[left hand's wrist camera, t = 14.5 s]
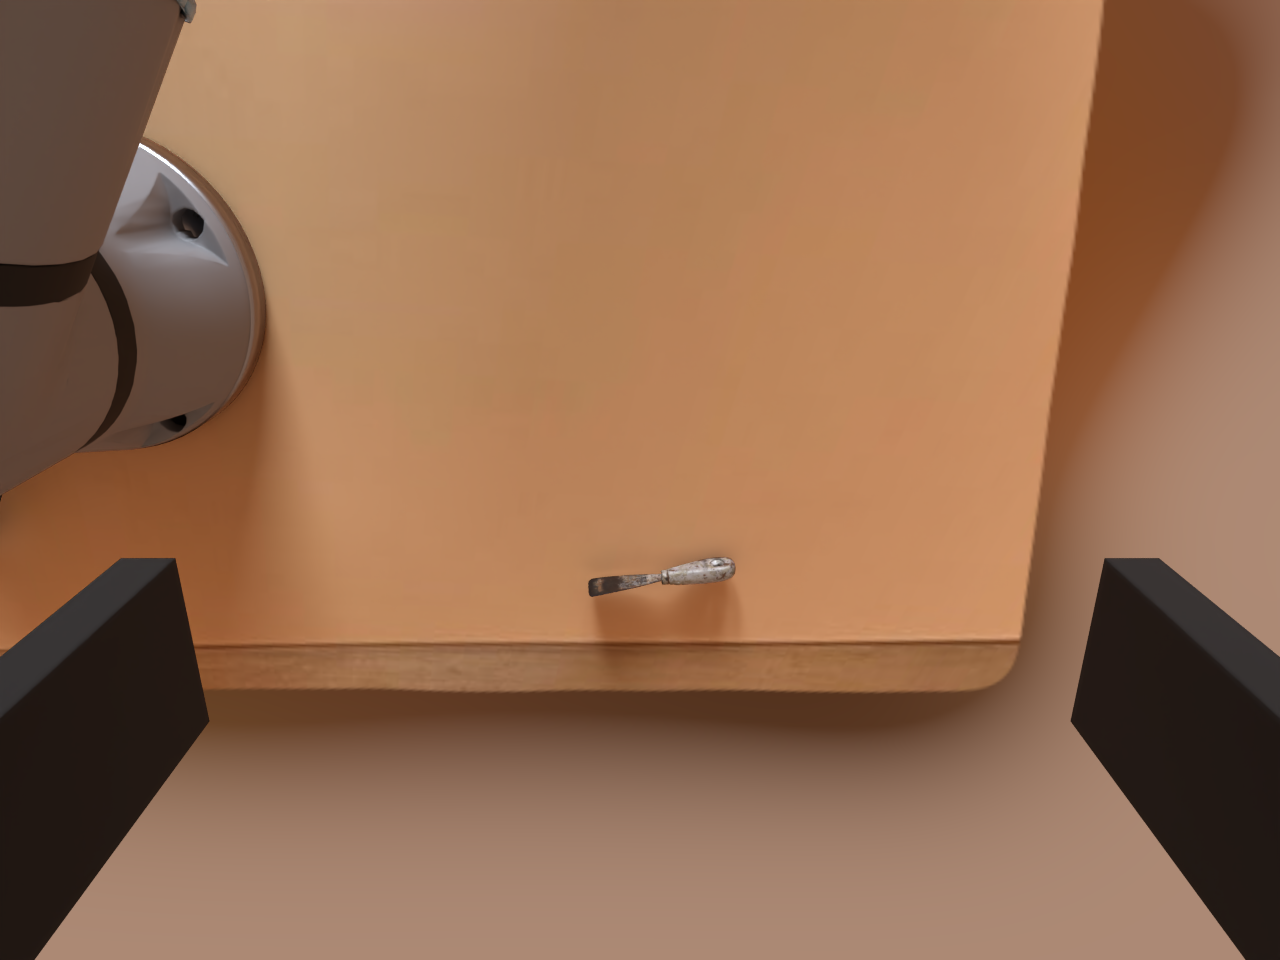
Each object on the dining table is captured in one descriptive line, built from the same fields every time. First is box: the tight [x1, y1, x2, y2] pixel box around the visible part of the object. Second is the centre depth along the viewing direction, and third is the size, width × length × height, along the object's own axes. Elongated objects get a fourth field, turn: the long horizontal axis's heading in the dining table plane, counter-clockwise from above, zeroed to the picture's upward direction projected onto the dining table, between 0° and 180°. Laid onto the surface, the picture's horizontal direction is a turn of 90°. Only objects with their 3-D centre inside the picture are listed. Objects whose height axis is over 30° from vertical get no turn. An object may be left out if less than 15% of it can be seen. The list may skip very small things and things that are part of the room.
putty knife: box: [588, 557, 735, 597], centre depth 48 cm, size 1×8×2 cm, turn 100°
